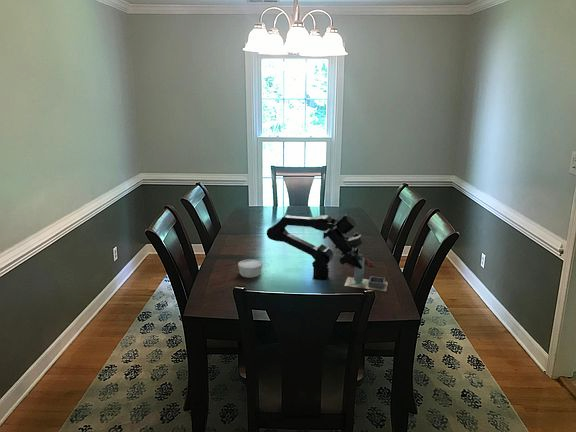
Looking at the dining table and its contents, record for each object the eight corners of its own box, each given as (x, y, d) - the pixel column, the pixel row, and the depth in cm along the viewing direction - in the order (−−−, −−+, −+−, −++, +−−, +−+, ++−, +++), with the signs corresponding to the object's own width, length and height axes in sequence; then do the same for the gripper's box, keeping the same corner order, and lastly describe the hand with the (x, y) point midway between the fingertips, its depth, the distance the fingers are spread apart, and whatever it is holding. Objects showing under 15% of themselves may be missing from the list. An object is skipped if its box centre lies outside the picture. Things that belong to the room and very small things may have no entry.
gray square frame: (368, 287, 200) (368, 281, 199) (369, 281, 206) (370, 276, 205) (383, 289, 198) (384, 283, 197) (384, 283, 204) (385, 277, 203)
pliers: (356, 253, 243) (356, 248, 243) (372, 267, 225) (373, 262, 224) (336, 254, 241) (336, 250, 240) (351, 269, 222) (351, 264, 221)
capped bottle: (353, 281, 202) (354, 255, 199) (354, 277, 206) (356, 252, 203) (362, 282, 201) (364, 256, 198) (363, 279, 205) (365, 253, 202)
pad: (351, 284, 202) (351, 283, 202) (353, 279, 207) (353, 278, 207) (364, 286, 201) (364, 285, 201) (365, 281, 206) (365, 280, 206)
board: (344, 286, 201) (344, 285, 201) (347, 277, 210) (348, 276, 210) (386, 291, 196) (386, 291, 196) (387, 282, 205) (387, 282, 205)
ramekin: (252, 267, 220) (252, 257, 219) (267, 274, 212) (267, 264, 211) (233, 273, 213) (233, 262, 212) (247, 281, 205) (247, 270, 204)
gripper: (348, 235, 190) (373, 263, 190) (356, 223, 207) (379, 249, 207) (329, 250, 194) (353, 278, 194) (338, 237, 211) (360, 263, 211)
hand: (362, 266), depth 201 cm, fingers closed on capped bottle, 4 cm apart
